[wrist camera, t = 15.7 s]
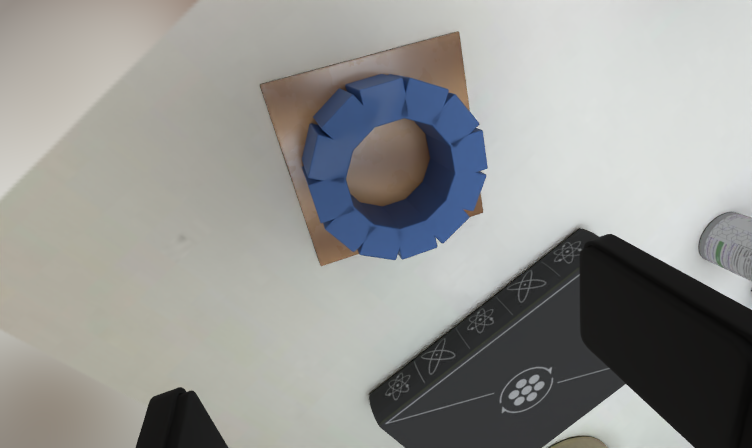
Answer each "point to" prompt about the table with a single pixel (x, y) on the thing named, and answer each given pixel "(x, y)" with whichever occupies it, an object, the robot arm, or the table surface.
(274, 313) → the table surface
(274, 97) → the mat
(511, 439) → the book
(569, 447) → the sugar bowl
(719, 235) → the container
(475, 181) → the ring
